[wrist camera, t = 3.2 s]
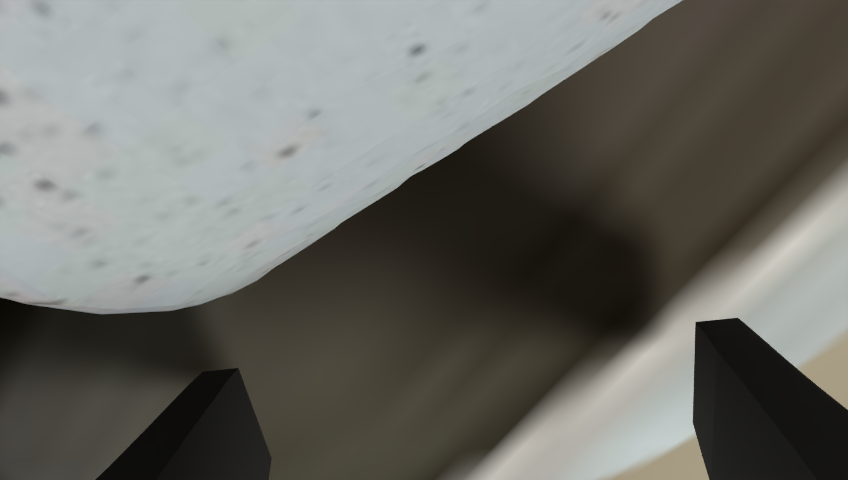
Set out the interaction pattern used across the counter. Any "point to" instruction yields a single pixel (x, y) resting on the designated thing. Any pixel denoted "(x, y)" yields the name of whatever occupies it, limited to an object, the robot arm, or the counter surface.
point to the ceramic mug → (245, 127)
